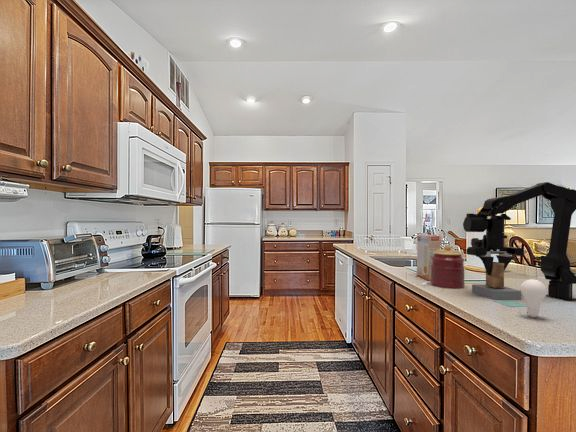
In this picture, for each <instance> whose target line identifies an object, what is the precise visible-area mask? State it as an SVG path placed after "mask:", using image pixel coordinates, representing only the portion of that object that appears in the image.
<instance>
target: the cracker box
mask: <svg viewBox="0 0 576 432" xmlns="http://www.w3.org/2000/svg"><path fill="white" fill-rule="evenodd" d="M416 240H417V243H416V245H417V247H416V250H417V251H416V276H417V277H418V278H421V279H423V280H426V281H430V282H431V265H432V259H431V257H432V256H434V253H433V252H434V251H436V250H438V249H442V248H441V245H442V243H441V240H442V236H441V235H435V234H423V233H422V234H417V237H416Z"/></svg>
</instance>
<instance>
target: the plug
mask: <svg viewBox="0 0 576 432" xmlns="http://www.w3.org/2000/svg"><path fill="white" fill-rule="evenodd" d="M485 284H486V285H487V286H490V287H494V288H495V287H505V271H504V263H499V262H498V261H493V266H492V272H491V275H488V274H487V272H486V271H485Z"/></svg>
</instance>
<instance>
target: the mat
mask: <svg viewBox="0 0 576 432" xmlns="http://www.w3.org/2000/svg"><path fill="white" fill-rule="evenodd" d="M493 303H498V304H500V305H503V306H506V307H510V308H523V307H524V308H525V307H526V308H527V306H526V303H525V304H524V303H521V302H518V301H516V300H493Z"/></svg>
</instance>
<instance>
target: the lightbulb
mask: <svg viewBox="0 0 576 432" xmlns="http://www.w3.org/2000/svg"><path fill="white" fill-rule="evenodd" d="M547 290H548V289H547V287H546V285H545V284H544V283H543V282H541V281H540V280H537V279H534V278H533V279H532V278H531V279H526V280H524V281H523V282H522V284H521V285H520V290H519V291H521V296H523V298H524V300H525V305H526V306H527V307H526V308H527V315H528V316H530V317H531V318H536V317H539V313H540V312H539V311H540V309H541V303H542V301H543V300H544V298H546V297H547V296H546V295H547V293H548V291H547Z"/></svg>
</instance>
